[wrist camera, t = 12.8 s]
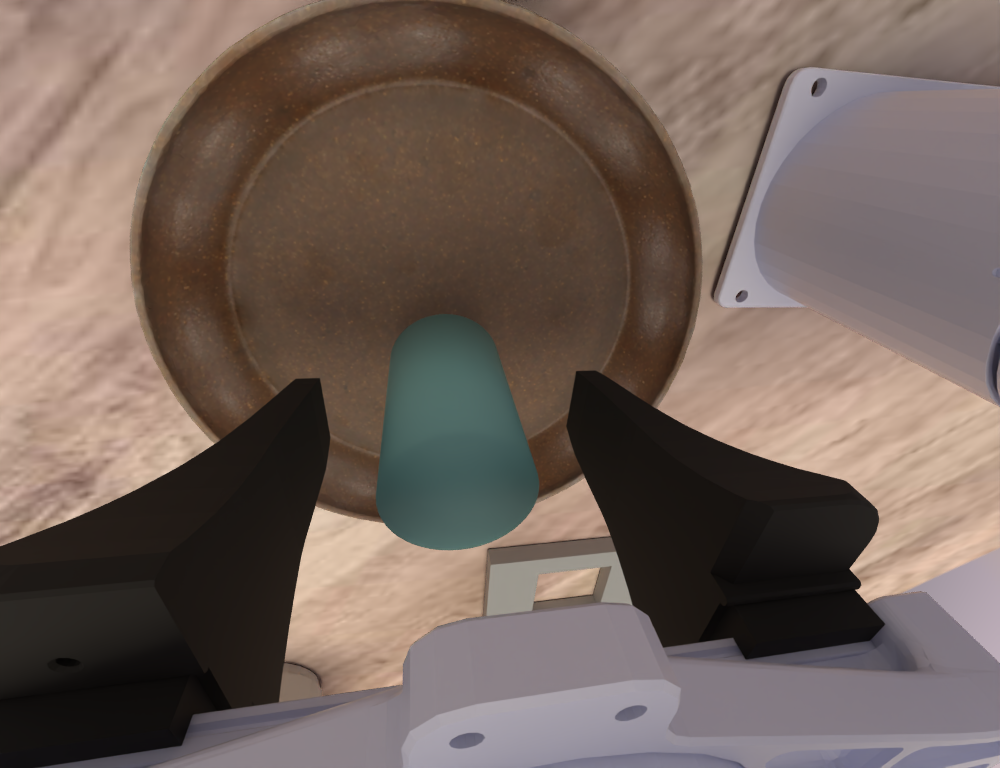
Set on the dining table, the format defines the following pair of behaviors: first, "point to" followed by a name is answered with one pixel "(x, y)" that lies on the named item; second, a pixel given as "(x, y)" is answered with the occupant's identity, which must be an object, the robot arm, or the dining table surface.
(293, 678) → the coffee cup
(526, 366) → the plant saucer
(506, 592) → the socket block
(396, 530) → the dowel
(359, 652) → the dining table surface
